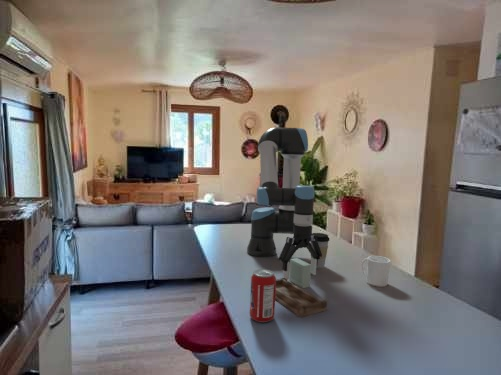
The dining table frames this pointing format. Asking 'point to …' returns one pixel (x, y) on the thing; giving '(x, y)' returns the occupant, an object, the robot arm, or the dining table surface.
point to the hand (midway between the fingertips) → (299, 276)
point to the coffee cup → (321, 248)
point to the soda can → (262, 295)
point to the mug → (377, 270)
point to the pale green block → (300, 272)
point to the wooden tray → (297, 299)
